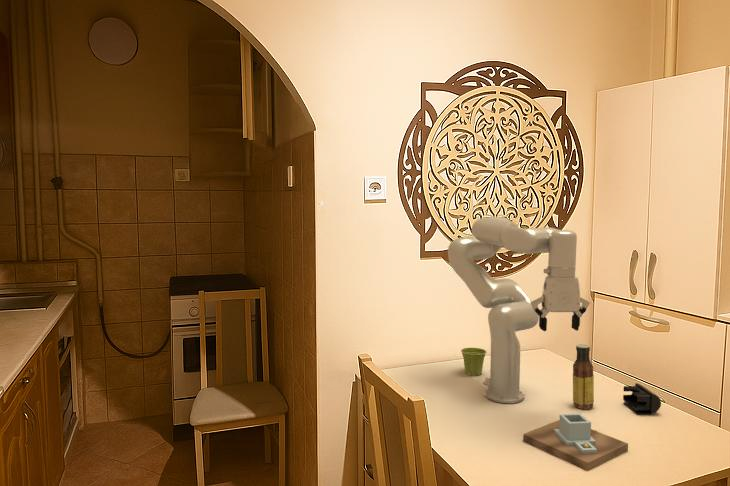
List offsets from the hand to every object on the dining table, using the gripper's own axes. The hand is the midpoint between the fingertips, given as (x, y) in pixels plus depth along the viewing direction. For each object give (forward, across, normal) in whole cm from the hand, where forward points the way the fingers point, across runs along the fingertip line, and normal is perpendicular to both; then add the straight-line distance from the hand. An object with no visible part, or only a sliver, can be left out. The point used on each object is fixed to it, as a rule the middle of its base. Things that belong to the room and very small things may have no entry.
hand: (559, 329), depth 165 cm
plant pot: (+29, -13, +44) cm, 54 cm away
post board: (+28, -2, -16) cm, 32 cm away
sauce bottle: (+28, +13, +10) cm, 33 cm away
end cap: (+28, +30, +6) cm, 42 cm away
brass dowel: (+26, -2, -23) cm, 35 cm away
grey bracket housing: (+26, -2, -19) cm, 32 cm away
